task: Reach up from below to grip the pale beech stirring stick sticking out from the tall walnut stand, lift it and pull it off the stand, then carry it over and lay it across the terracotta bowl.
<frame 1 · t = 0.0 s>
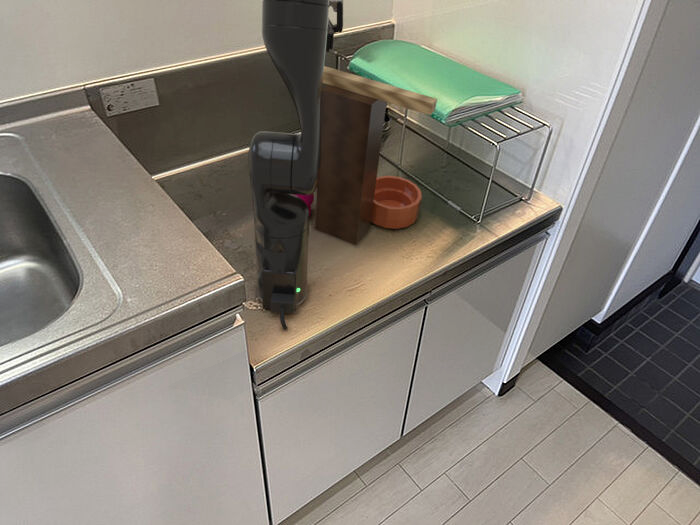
hand: (308, 48, 117), 29 cm above the counter, tool pointing down, fingers open, 8 cm apart
bowl: (389, 213, 124), on the counter
stand: (342, 228, 119), on the counter
stick: (370, 94, 97), point 32 cm above the counter, touching stand
pepper mill: (296, 214, 122), on the counter
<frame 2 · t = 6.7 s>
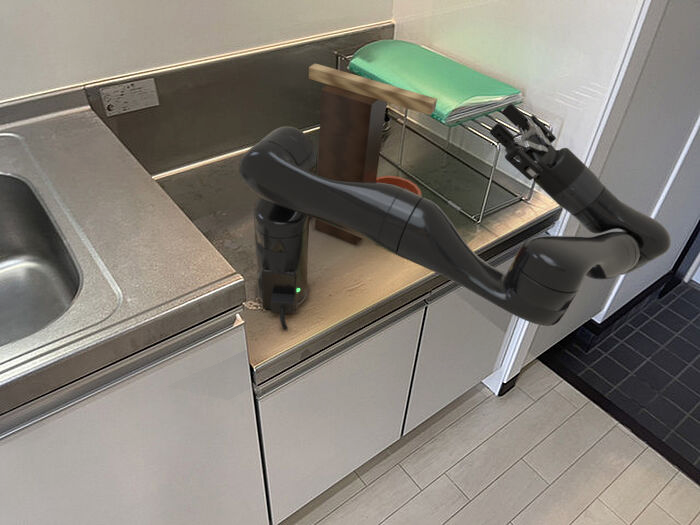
hand: (500, 116, 92), 33 cm above the counter, tool pointing upward, fingers open, 8 cm apart
nothing on the counter moved.
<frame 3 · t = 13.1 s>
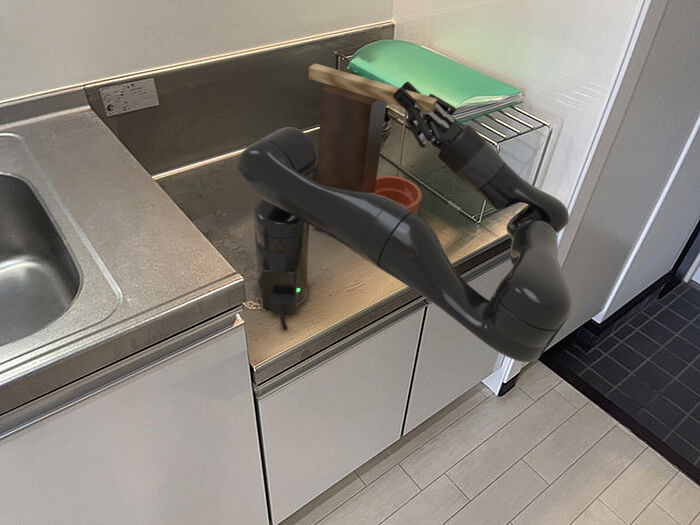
hand: (400, 88, 93), 35 cm above the counter, tool pointing upward, fingers closed on stick, 2 cm apart
stick: (370, 94, 97), point 32 cm above the counter, touching gripper, stand
everything else where it was.
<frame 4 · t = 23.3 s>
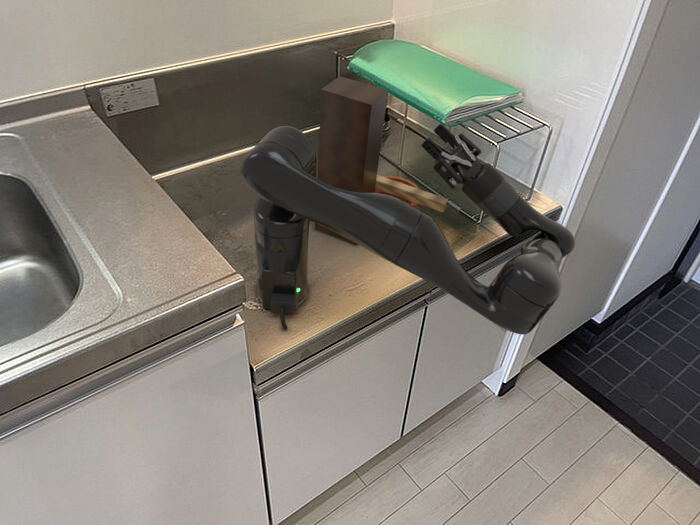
hand: (431, 133, 108), 22 cm above the counter, tool pointing upward, fingers open, 6 cm apart
stick: (394, 192, 120), point 6 cm above the counter, touching bowl
everything else where it was.
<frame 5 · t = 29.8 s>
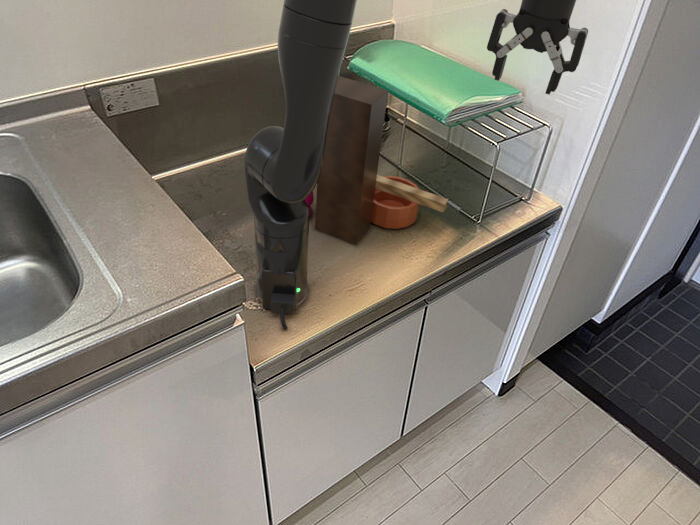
hand: (522, 85, 90), 38 cm above the counter, tool pointing down, fingers open, 8 cm apart
nothing on the counter moved.
at the end: stick inside the target area in the bowl (0.2 cm from its centre), point 6.0 cm above the bowl's base; stick touching bowl; the gripper is holding nothing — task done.
